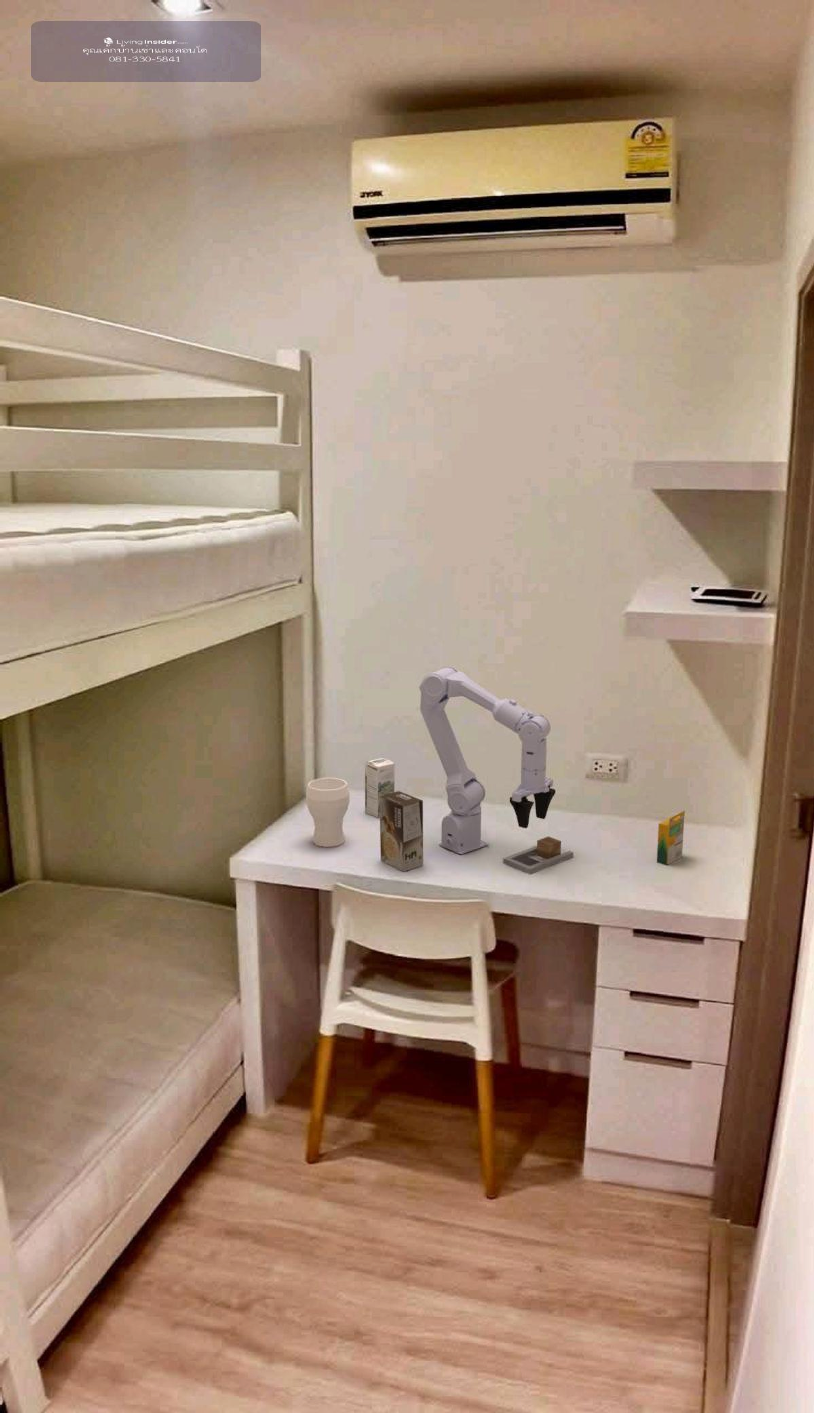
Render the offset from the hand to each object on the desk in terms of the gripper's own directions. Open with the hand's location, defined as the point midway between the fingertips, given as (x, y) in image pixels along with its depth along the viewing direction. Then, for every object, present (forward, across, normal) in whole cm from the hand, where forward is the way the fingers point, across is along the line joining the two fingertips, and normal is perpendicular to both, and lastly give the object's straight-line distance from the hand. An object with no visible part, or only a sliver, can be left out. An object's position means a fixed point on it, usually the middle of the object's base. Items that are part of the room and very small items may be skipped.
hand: (532, 822), depth 237 cm
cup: (+9, -24, +44) cm, 51 cm away
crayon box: (+9, +20, -26) cm, 34 cm away
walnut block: (+9, +3, -3) cm, 10 cm away
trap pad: (+9, -3, -2) cm, 10 cm away
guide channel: (+9, 0, -2) cm, 9 cm away
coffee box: (+9, -22, +22) cm, 32 cm away
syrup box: (+9, -1, +47) cm, 48 cm away
